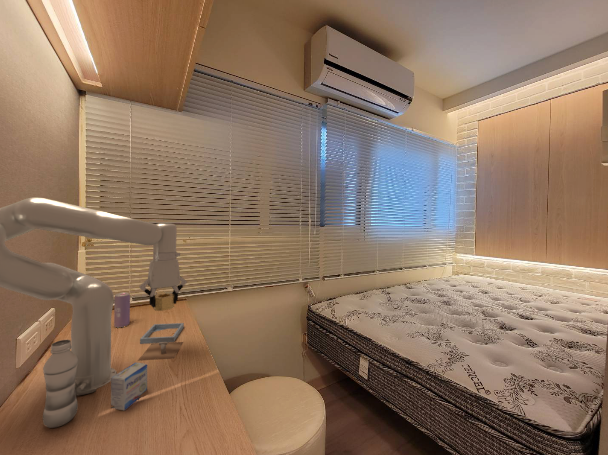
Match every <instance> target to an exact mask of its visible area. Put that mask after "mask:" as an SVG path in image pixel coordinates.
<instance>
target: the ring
mask: <svg viewBox="0 0 608 455" xmlns="http://www.w3.org/2000/svg"><path fill="white" fill-rule="evenodd" d="M154 296H155V307H152V308H153V310H154V311H155V312H157V311H158V312H164V311H168V310H171V309H174V308H175V304H174V294H172V292H171V293H167V292H165V291H164V290H159V291H156V292H155V294H154Z"/></svg>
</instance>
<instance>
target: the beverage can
mask: <svg viewBox="0 0 608 455" xmlns="http://www.w3.org/2000/svg"><path fill="white" fill-rule="evenodd" d="M113 307H114V312H113V314H114V319H113V320H114V322H113V323H114V324H113V326H114V327H115V328H116V327H117V328H116V329H119V327H122V328H125V327H124V326H126V327H127V325H128V326H129V325H130V321H131V314H130V313H131V310H130V309H131V295H130V292H119V293H115V294H114V301H113Z"/></svg>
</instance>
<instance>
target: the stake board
mask: <svg viewBox="0 0 608 455" xmlns="http://www.w3.org/2000/svg"><path fill="white" fill-rule="evenodd" d="M183 344H184V341H178V342H175V341H174V342H160V343H150V345H149V346H148V347H147V349H146V350H145V351H144V352H143V353H142V354H141V356H140V357H139V358H138V360H137V361H154V360H169V359H175V358H176V356H177V355H178V352H179V350H180V349H181V348H182V346H183Z"/></svg>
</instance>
